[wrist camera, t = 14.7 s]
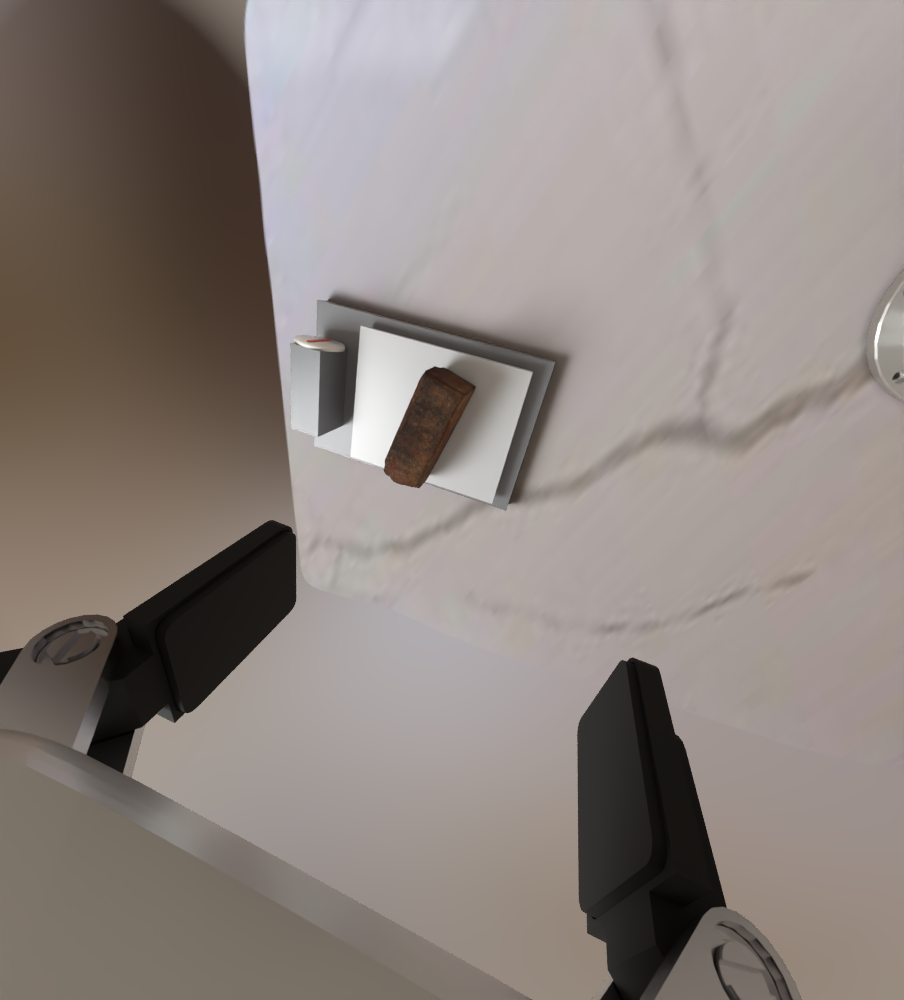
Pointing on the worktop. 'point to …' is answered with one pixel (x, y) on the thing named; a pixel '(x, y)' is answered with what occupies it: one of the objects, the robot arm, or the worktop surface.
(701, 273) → the worktop surface
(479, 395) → the scale
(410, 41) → the worktop surface
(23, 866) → the robot arm
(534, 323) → the worktop surface
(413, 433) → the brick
